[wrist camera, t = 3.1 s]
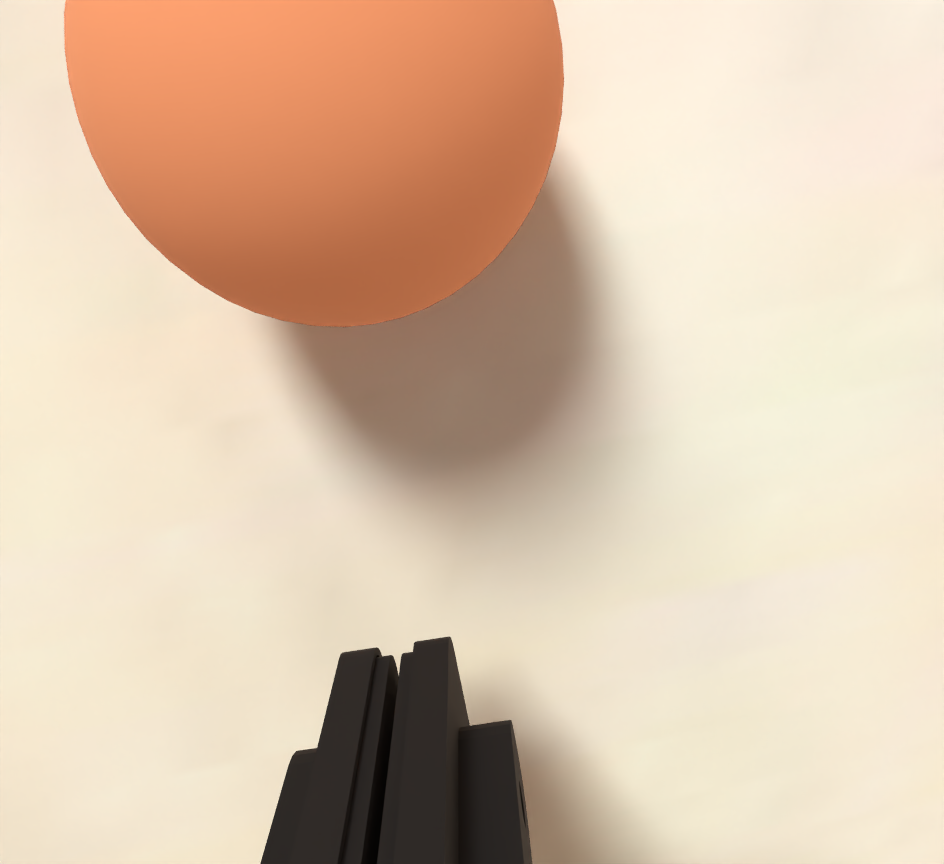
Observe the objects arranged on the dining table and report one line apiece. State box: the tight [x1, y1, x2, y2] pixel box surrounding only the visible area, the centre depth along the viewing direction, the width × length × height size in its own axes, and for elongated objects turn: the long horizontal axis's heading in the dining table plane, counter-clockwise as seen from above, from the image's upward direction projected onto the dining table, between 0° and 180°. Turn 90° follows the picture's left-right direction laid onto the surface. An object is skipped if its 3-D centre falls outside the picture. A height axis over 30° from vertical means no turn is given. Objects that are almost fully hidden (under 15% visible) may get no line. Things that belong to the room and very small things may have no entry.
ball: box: [64, 0, 564, 327], centre depth 8 cm, size 6×6×6 cm
